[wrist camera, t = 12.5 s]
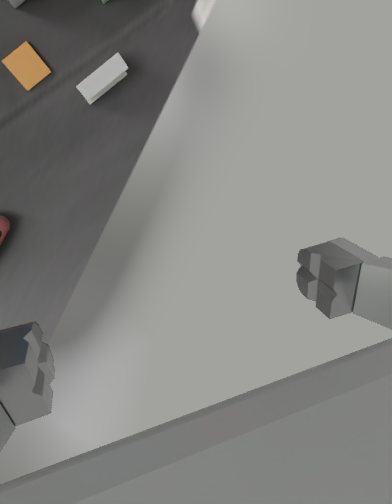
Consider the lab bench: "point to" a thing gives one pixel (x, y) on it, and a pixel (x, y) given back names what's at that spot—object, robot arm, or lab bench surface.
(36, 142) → the lab bench surface
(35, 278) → the lab bench surface
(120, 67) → the assorted small pieces
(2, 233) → the screwdriver
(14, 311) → the lab bench surface
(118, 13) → the lab bench surface
